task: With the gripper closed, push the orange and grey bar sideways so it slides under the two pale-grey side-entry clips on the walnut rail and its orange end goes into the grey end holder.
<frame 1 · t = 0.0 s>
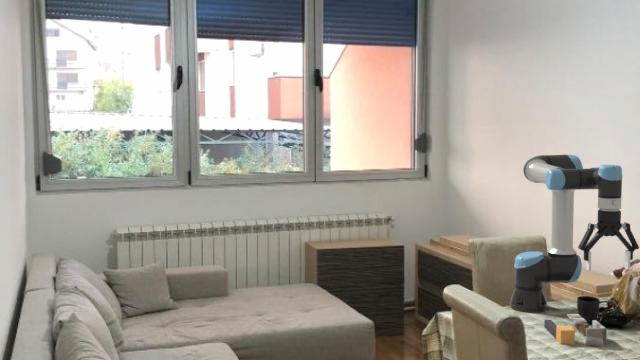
hand: (607, 269, 245), 28 cm above the table, fingers open, 13 cm apart
mug: (592, 323, 275), on the table
orange and grey bar: (565, 341, 254), on the table
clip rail: (582, 332, 264), on the table
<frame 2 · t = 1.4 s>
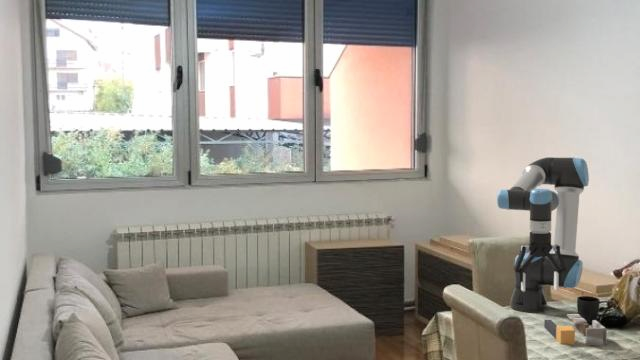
hand: (539, 290, 257), 18 cm above the table, fingers open, 11 cm apart
nothing on the table moved.
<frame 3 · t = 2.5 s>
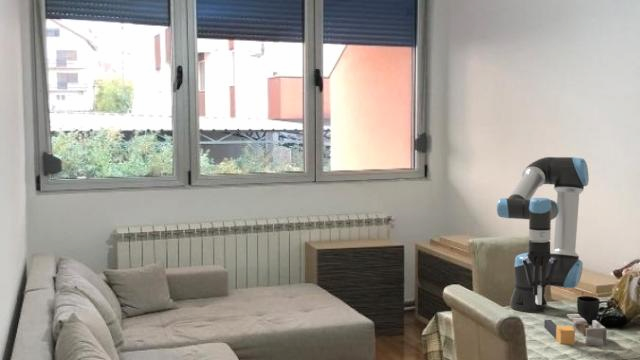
hand: (538, 303, 257), 13 cm above the table, fingers closed
nothing on the table moved.
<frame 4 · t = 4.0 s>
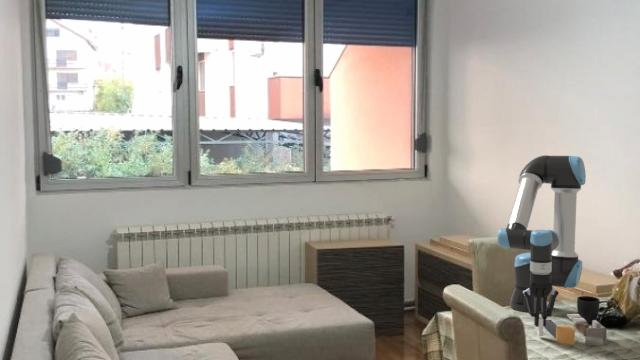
hand: (539, 334, 259), 1 cm above the table, fingers closed
nothing on the table moved.
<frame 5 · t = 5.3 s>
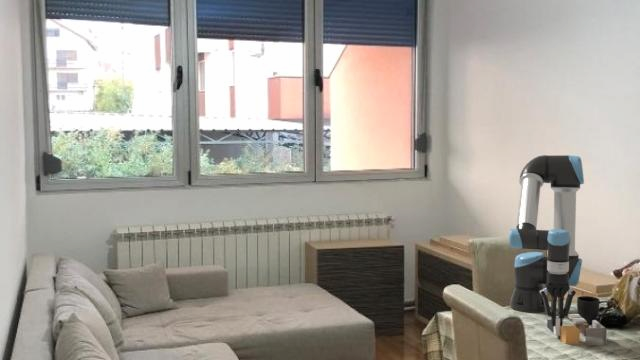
hand: (556, 334, 259), 1 cm above the table, fingers closed
orange and grey bar: (569, 341, 255), on the table, touching gripper
everything else where it was.
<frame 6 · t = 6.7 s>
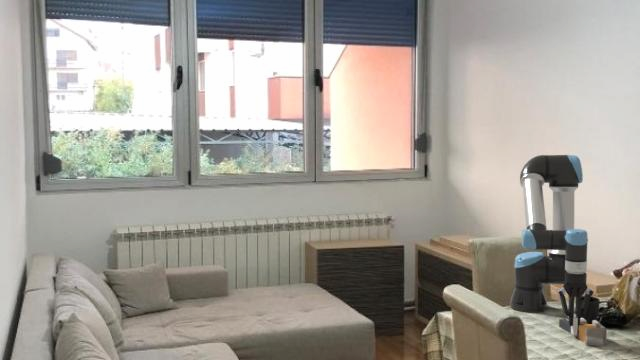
hand: (574, 334, 259), 1 cm above the table, fingers closed
orange and grey bar: (588, 340, 255), on the table, touching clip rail, gripper
everything else where it was.
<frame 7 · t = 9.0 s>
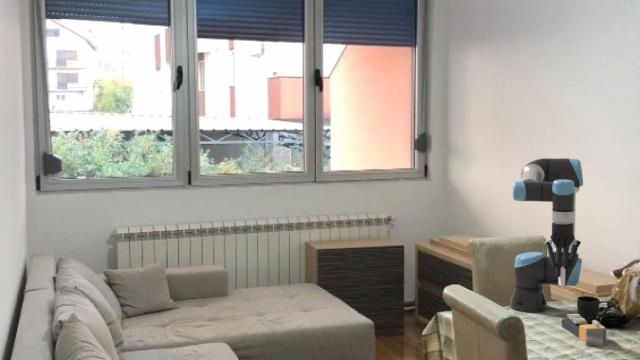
hand: (561, 285, 258), 19 cm above the table, fingers closed
orange and grey bar: (588, 340, 256), on the table
everything else where it was.
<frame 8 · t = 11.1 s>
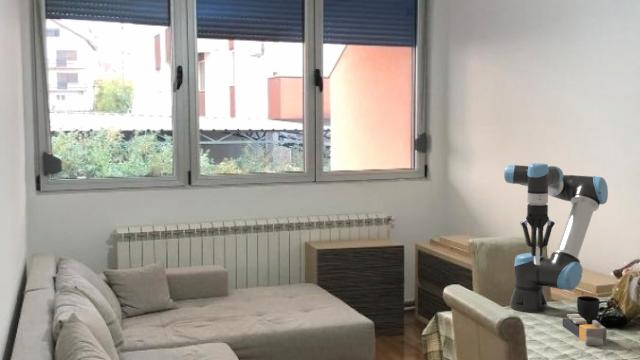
hand: (536, 264, 271), 24 cm above the table, fingers closed
nothing on the table moved.
at the end: orange and grey bar 1.2 cm from the target spot, on the table; orange and grey bar tilted 0°; orange and grey bar moved 9.1 cm from its start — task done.
